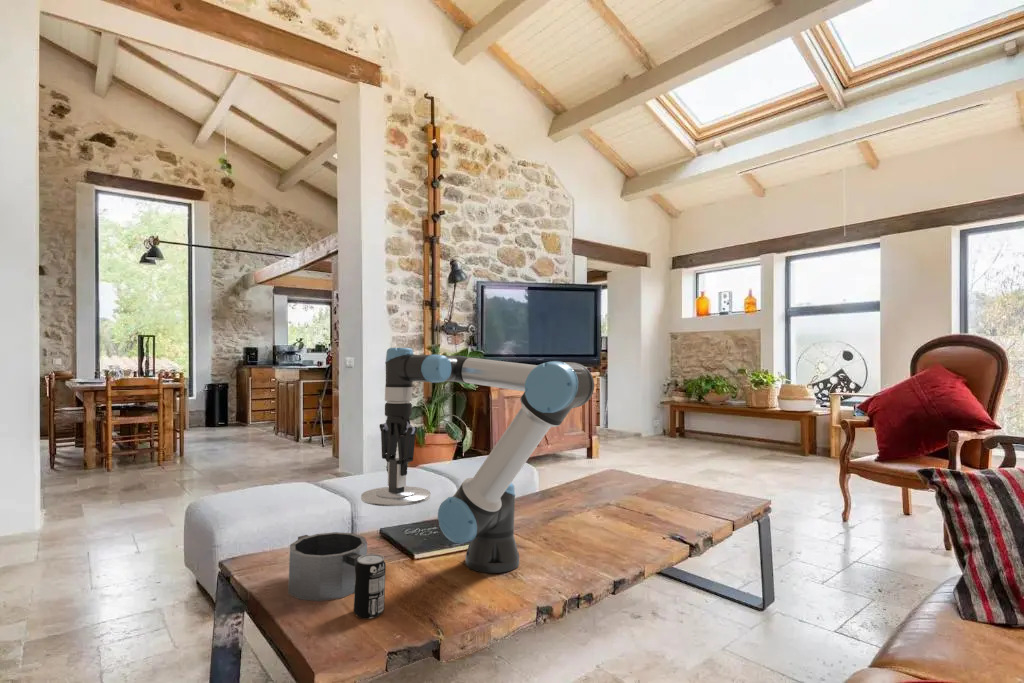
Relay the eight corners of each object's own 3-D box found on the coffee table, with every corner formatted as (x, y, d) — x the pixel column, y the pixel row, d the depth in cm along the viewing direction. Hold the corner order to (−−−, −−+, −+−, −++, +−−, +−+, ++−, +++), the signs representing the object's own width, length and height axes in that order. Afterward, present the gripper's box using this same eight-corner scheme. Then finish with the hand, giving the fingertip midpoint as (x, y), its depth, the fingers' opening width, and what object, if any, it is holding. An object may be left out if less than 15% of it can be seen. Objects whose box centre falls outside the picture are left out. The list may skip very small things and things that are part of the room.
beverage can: (356, 606, 123) (358, 553, 124) (386, 606, 124) (387, 553, 124) (350, 620, 117) (352, 564, 117) (381, 619, 117) (383, 563, 118)
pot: (387, 586, 135) (388, 545, 135) (323, 611, 121) (325, 566, 121) (330, 562, 149) (331, 526, 150) (267, 583, 135) (269, 542, 135)
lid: (444, 496, 154) (445, 458, 154) (392, 510, 139) (393, 468, 139) (399, 486, 165) (400, 451, 166) (346, 498, 150) (347, 459, 151)
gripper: (428, 403, 151) (426, 487, 150) (390, 400, 161) (388, 479, 160) (407, 404, 145) (405, 492, 144) (369, 401, 155) (367, 484, 154)
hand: (396, 485), depth 152 cm, fingers closed on lid, 3 cm apart
